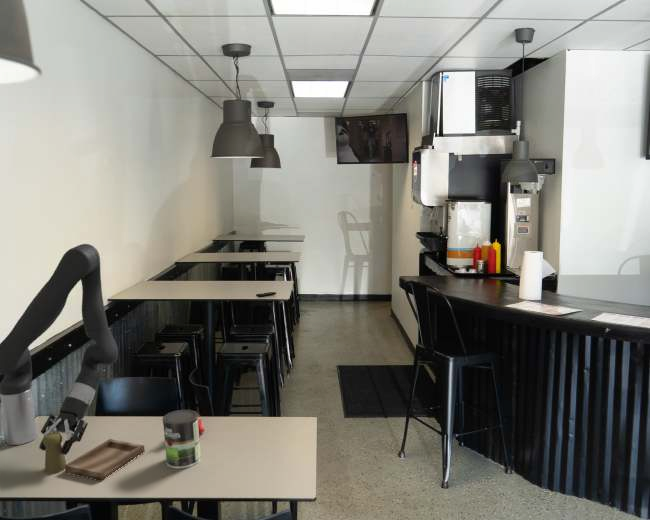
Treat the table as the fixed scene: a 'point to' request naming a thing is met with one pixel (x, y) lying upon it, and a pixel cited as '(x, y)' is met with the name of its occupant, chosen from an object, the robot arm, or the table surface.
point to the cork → (53, 453)
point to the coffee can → (181, 438)
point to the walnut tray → (104, 459)
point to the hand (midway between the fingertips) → (52, 451)
